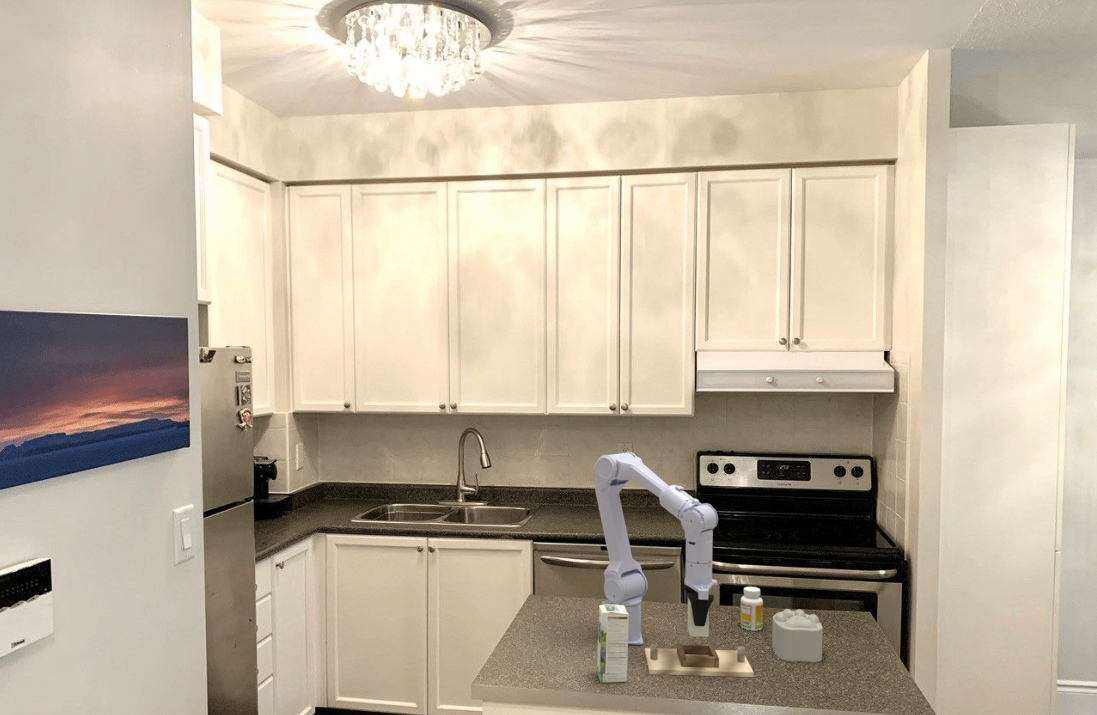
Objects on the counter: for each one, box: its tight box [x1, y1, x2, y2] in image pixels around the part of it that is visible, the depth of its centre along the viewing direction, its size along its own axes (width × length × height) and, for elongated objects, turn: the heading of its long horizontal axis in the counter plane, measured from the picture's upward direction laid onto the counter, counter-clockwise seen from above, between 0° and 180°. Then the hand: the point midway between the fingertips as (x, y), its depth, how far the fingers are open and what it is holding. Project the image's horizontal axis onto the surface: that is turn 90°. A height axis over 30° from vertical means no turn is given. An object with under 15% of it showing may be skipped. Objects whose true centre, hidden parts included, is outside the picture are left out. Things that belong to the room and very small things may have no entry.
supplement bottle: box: [740, 586, 764, 632], centre depth 196 cm, size 5×5×10 cm
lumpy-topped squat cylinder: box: [771, 608, 824, 663], centre depth 181 cm, size 10×13×9 cm
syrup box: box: [596, 604, 629, 684], centre depth 165 cm, size 6×6×14 cm
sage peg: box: [687, 597, 710, 638], centre depth 173 cm, size 4×4×8 cm
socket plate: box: [644, 643, 755, 678], centre depth 173 cm, size 22×12×4 cm, turn 88°
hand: (697, 622), depth 173 cm, fingers closed on sage peg, 4 cm apart
